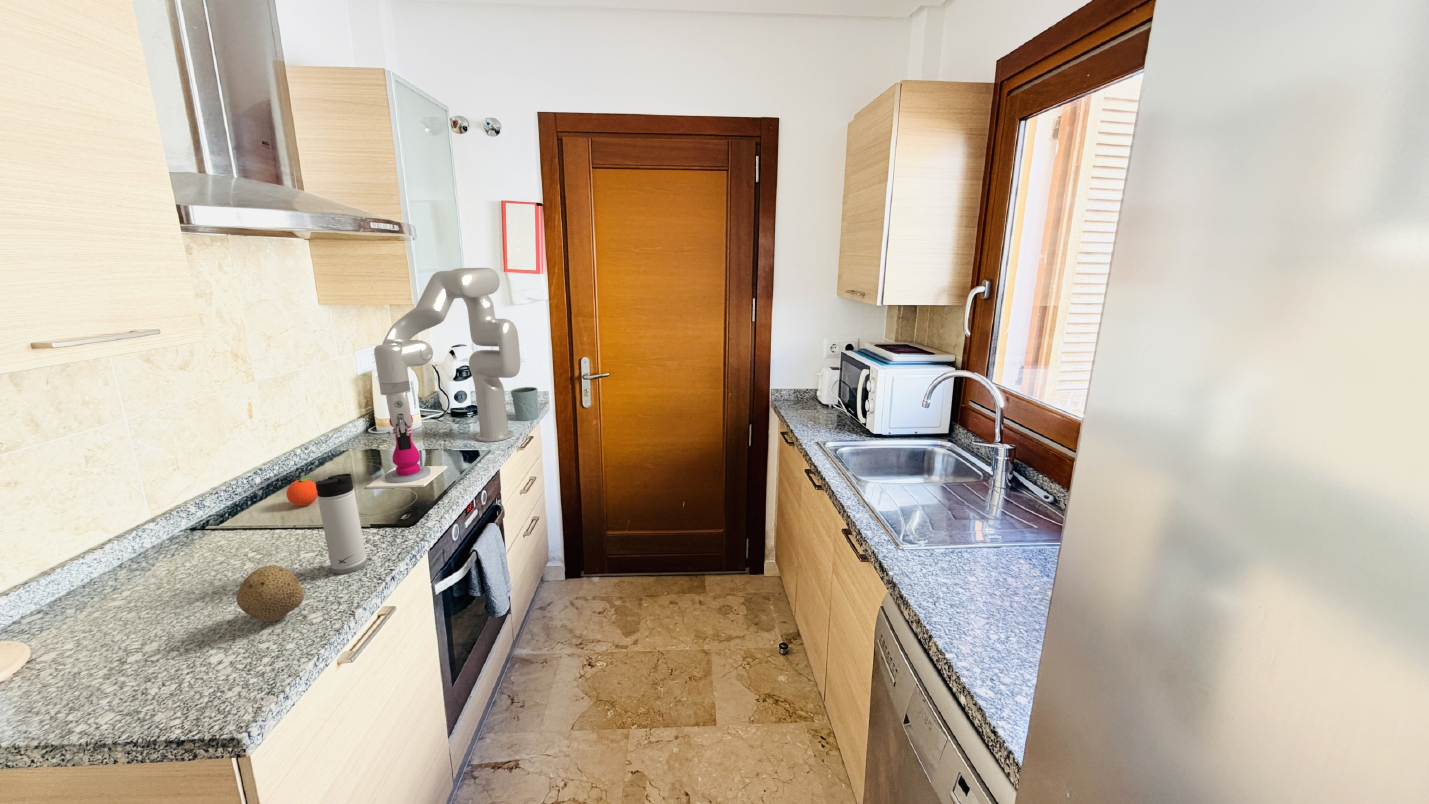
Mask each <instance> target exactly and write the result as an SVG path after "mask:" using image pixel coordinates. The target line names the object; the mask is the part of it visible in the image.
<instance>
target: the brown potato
mask: <svg viewBox="0 0 1429 804" xmlns="http://www.w3.org/2000/svg"><path fill="white" fill-rule="evenodd" d="M304 592H305V591H304V590H303V587H302V584H301V583H300V581H299V580H298V578H297V577H296V575H295V574H294V573H293V572H292V571H291V570H289V569H288V568H286V567H284V566H279V565H278V566H277V565H264V566H262V567H259V568H257V569H255V570H254V571H252V572H251V573H250V574H249V575H247V577H245V579H244V580H243V581H242V582H241V584H240V585H239V587H238V590H237V592H236V593H237V594H236V603H237V606H238V607H239V608H240V609H241V611H242V612H244V613H245V614H246V615H248V616H250V617H251V618H253V619H255V620H257V621H259V622H263V623H274V622H277V621H280V620H282V619H283V618H285V617H286V616H287V615H288V614H289V613H291V612H292V611H294V610H295V609H297V608H298V607H299V606H300V605H301V604H302V603H303V601H304V598H305V597H304V596H305V594H304Z"/></svg>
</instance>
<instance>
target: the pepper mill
mask: <svg viewBox="0 0 1429 804" xmlns="http://www.w3.org/2000/svg"><path fill="white" fill-rule="evenodd" d="M402 415H403V414H402ZM397 417H398V416H397ZM411 419H412V424H413V422H414V418H413V415H412V414H411ZM388 423H389V425H390V427H392V428H393V425H392V422H391V419H390V418H389V421H388ZM407 428H408V433H409V435H410V441H411V449H407V450H401V451H400V450H399V448H398V441H397V437H398V434H397V429H394V428H393V429H392V434H393V435H394V436H396V437H395V448H394V451H393V454H392V463H393V464H394V465H395V466H396V467H397V468H396V474H397V475H399V476H407V475H413V474H416V473H418V472H419V471H420V466H421V465H420V464H419V461H420V459H421V455H420V452H419V449H418V448H417V447H416V445H415V444H414V441H413V440H412V432H413V431H414V430H413V426H412V427H410V426H408V425H407ZM399 433H400V432H399Z"/></svg>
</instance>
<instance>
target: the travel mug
mask: <svg viewBox="0 0 1429 804" xmlns="http://www.w3.org/2000/svg"><path fill="white" fill-rule="evenodd" d="M314 483H315V484H316V490H317V502H318V506H319V507H318V508H319V511H320V516H321V522H322V526H323V532H324V538H325V543H326V547H327V552H328V557H329V563H330V569H331V572H332V573H334V574H337V575H344V574H345V575H346V574H350V573H353V572H356V571H359V570H360V569H362V568H364V567H365V566H366V565H367V563H368V559H367V556H366V549H365V542H364V537H363V531H362V526H361V525H362V524H361V521H360V515H359V509H358V508H359V507H358V503H357V497H356V492H355V487H354V484H353V483H354V482H353V478H352V473H340V474H335V475H331V476H328V477H327V478H324V479H322V480H318V481H317V480H316V482H314Z"/></svg>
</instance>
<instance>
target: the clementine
mask: <svg viewBox="0 0 1429 804" xmlns="http://www.w3.org/2000/svg"><path fill="white" fill-rule="evenodd" d="M314 481H316V482H317V481H319V480H317V479H315V478H314ZM314 481H313V480H312V478H311V477H310V478H303V479H302V478H300V479H298V480H295V481H293V482H292V483H291V484H289V486H288V488H287V489H286V498H287V500H288V502H290V504H292V505H294V506H296V507H306V506H309V505H311V504H313V503H314V502H315V501H316V500H317V499H318V497H317V490H316V484H315V483H316V482H314Z"/></svg>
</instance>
